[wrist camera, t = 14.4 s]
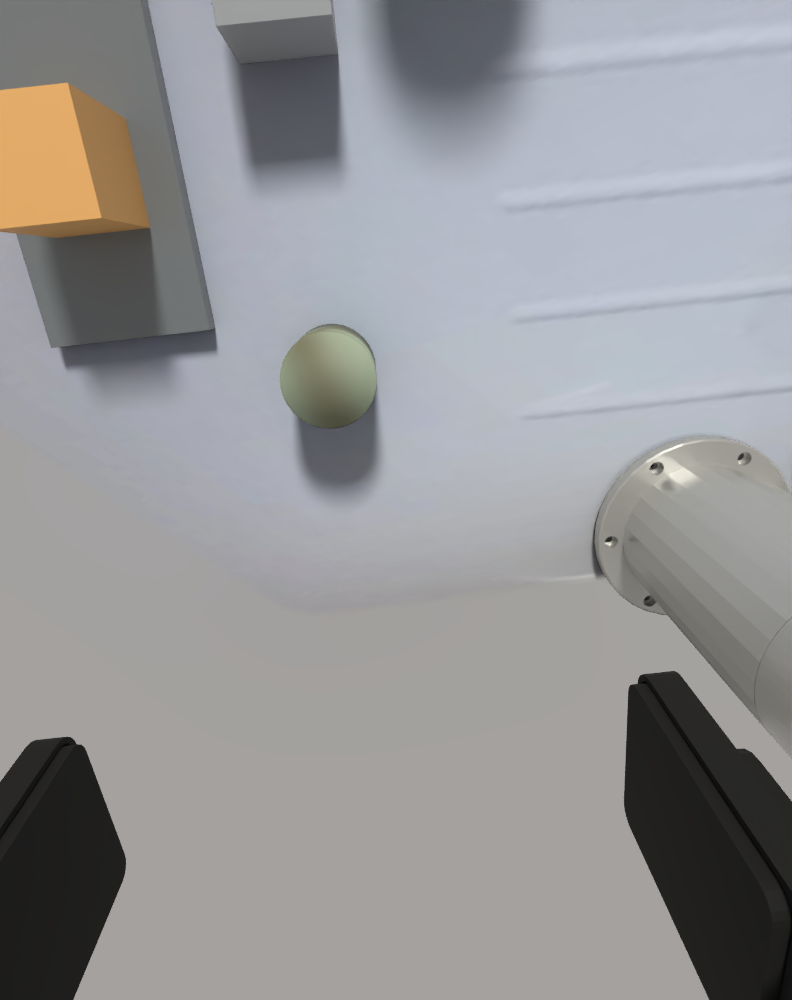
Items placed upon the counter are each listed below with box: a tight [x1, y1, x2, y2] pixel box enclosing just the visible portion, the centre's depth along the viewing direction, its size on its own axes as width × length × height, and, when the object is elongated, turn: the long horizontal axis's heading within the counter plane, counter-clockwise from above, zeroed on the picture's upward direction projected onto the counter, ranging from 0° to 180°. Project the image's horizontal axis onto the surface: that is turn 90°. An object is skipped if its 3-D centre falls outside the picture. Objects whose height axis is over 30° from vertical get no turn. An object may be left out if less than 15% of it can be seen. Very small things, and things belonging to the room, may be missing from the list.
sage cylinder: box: [280, 324, 377, 429], centre depth 33 cm, size 5×5×5 cm
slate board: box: [0, 0, 215, 348], centre depth 31 cm, size 9×16×1 cm, turn 6°
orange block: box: [0, 83, 150, 238], centre depth 28 cm, size 5×5×6 cm
